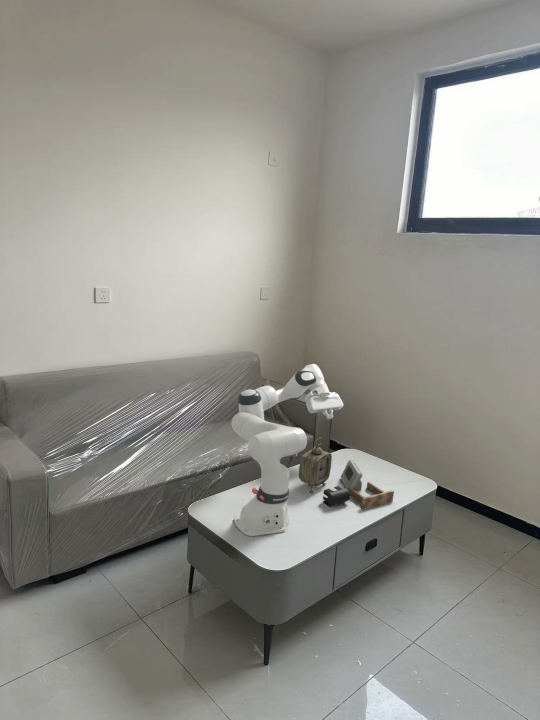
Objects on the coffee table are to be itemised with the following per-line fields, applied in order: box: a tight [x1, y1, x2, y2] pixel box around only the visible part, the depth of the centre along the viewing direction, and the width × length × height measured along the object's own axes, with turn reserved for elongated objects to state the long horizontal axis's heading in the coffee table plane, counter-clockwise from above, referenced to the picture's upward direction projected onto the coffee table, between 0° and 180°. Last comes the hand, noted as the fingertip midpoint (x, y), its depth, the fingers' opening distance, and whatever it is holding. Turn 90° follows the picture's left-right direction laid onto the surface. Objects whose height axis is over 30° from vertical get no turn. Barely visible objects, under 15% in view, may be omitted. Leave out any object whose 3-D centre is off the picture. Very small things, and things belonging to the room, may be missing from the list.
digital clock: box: [340, 458, 363, 492], centre depth 237 cm, size 16×9×11 cm, turn 176°
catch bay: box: [346, 481, 395, 510], centre depth 228 cm, size 18×14×5 cm
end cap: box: [322, 485, 351, 508], centre depth 221 cm, size 10×7×7 cm
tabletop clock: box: [298, 437, 333, 495], centre depth 231 cm, size 14×9×25 cm, turn 143°
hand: (330, 418), depth 249 cm, fingers closed
